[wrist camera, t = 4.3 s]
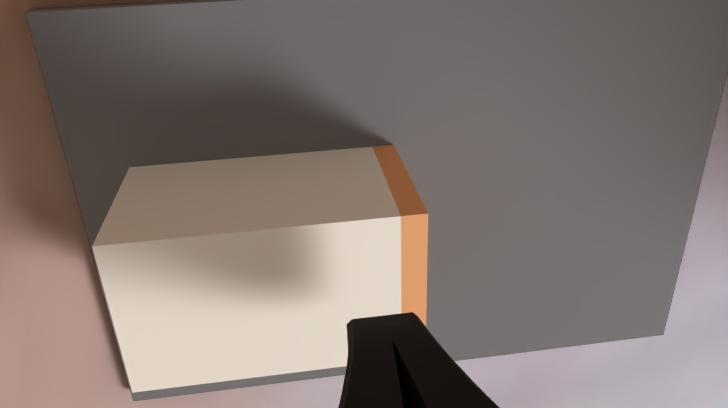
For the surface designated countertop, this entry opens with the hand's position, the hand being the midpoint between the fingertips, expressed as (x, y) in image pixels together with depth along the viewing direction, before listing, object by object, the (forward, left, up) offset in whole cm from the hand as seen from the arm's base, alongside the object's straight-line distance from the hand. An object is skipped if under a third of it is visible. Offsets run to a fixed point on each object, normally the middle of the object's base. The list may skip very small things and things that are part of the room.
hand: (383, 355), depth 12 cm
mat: (-2, 0, -6) cm, 7 cm away
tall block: (-1, 0, -4) cm, 4 cm away
